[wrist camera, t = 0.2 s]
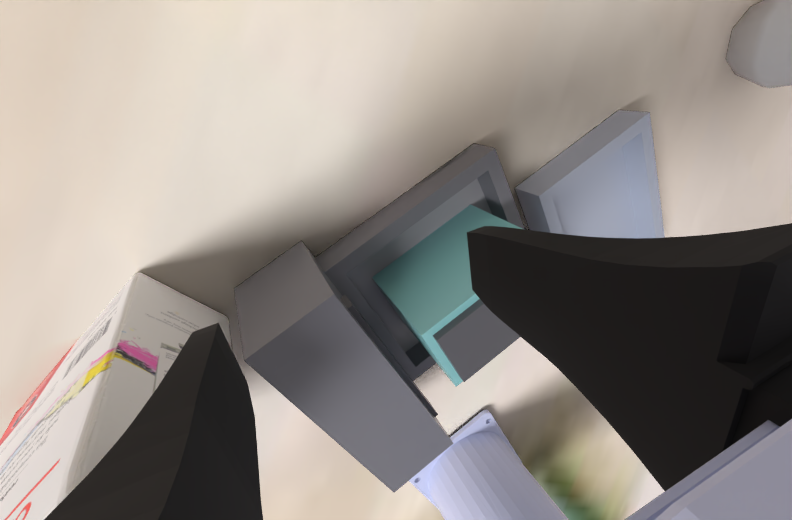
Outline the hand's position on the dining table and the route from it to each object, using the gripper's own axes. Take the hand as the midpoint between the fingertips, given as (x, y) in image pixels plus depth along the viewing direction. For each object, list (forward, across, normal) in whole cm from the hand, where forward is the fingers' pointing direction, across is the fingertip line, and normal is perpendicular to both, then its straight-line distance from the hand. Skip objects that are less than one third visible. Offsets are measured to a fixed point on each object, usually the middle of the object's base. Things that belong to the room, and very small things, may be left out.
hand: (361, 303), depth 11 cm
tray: (+10, -19, +7) cm, 22 cm away
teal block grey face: (+9, -7, +6) cm, 13 cm away
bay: (+10, -5, +6) cm, 13 cm away
